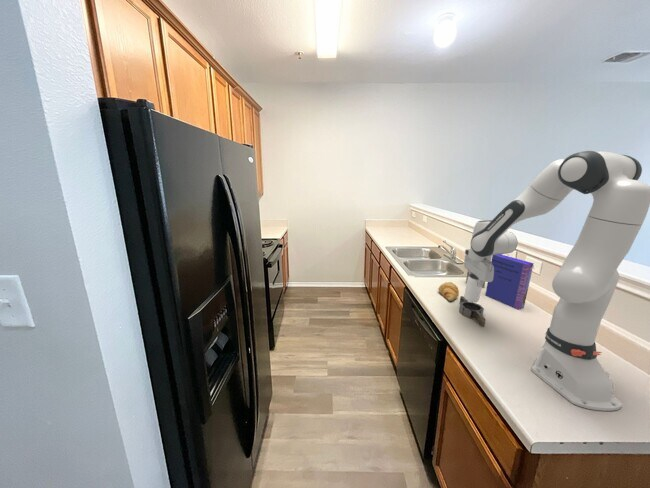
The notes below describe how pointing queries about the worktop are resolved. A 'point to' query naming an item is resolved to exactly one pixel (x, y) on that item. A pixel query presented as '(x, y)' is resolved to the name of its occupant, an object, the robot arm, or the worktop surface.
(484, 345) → the worktop surface
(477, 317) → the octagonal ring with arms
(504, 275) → the cereal box
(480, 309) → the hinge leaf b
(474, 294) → the can
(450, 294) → the croissant
